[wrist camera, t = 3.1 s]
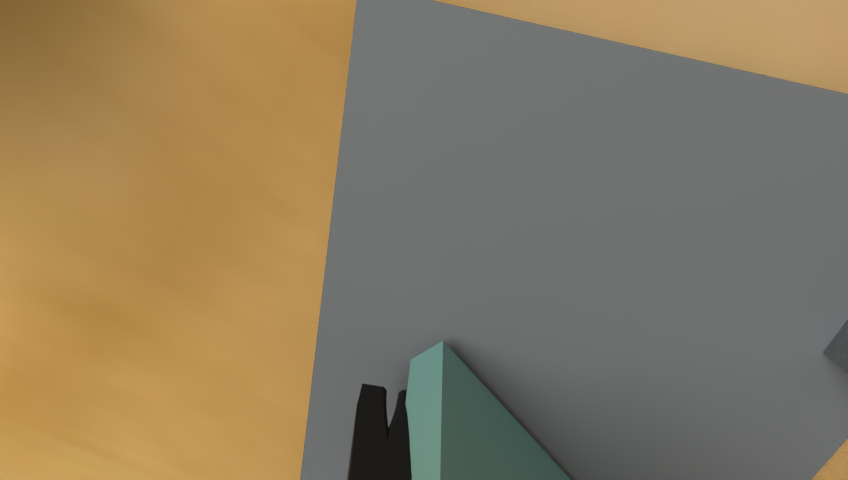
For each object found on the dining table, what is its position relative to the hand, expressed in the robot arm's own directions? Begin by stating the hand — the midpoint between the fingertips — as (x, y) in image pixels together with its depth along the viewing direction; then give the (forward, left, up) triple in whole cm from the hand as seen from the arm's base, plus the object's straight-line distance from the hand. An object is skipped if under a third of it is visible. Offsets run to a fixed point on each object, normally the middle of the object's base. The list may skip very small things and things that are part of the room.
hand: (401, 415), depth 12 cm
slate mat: (0, -6, -2) cm, 6 cm away
